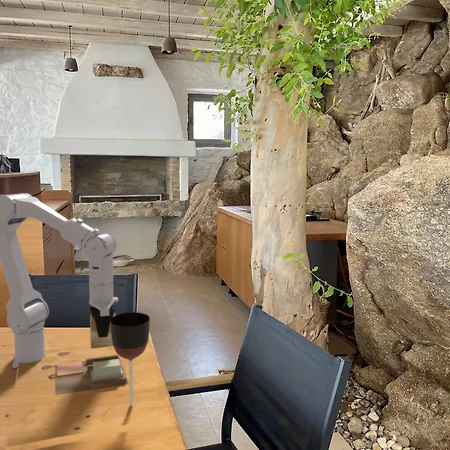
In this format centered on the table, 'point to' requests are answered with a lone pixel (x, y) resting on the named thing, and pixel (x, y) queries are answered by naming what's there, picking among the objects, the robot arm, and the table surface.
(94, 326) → the tan wooden block
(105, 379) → the offcut lower
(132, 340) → the wineglass
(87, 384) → the walnut rack
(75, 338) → the table surface
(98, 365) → the offcut upper
